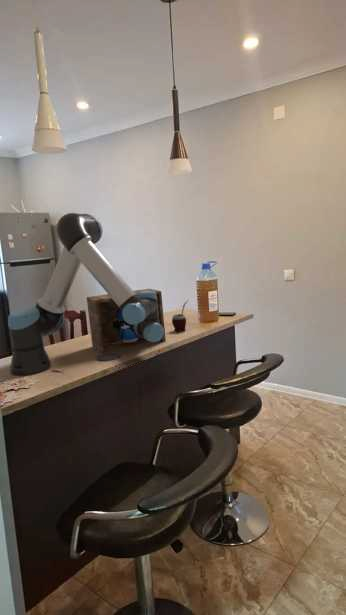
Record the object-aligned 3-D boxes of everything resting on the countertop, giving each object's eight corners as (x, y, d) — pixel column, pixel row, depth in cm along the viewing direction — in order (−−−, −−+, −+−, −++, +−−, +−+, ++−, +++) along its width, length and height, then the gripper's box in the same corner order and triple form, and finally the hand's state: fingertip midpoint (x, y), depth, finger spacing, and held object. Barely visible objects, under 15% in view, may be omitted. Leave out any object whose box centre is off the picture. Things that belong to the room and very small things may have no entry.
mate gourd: (170, 332, 206) (167, 302, 204) (178, 328, 213) (175, 300, 211) (183, 332, 203) (180, 302, 200) (190, 329, 209) (188, 300, 207)
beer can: (120, 339, 191) (117, 305, 189) (138, 337, 192) (135, 303, 189) (120, 343, 183) (116, 308, 180) (139, 341, 184) (135, 306, 181)
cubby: (100, 353, 176) (94, 300, 173) (92, 346, 190) (86, 297, 186) (165, 341, 188) (161, 291, 185) (153, 335, 202) (148, 288, 198)
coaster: (99, 362, 163) (99, 361, 163) (93, 357, 172) (93, 355, 172) (123, 357, 167) (123, 356, 167) (116, 352, 176) (116, 351, 176)
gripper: (118, 340, 166) (103, 331, 187) (166, 331, 175) (146, 323, 195) (116, 322, 165) (101, 315, 185) (164, 314, 173) (145, 308, 194)
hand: (124, 319), depth 190 cm, fingers closed on beer can, 8 cm apart
